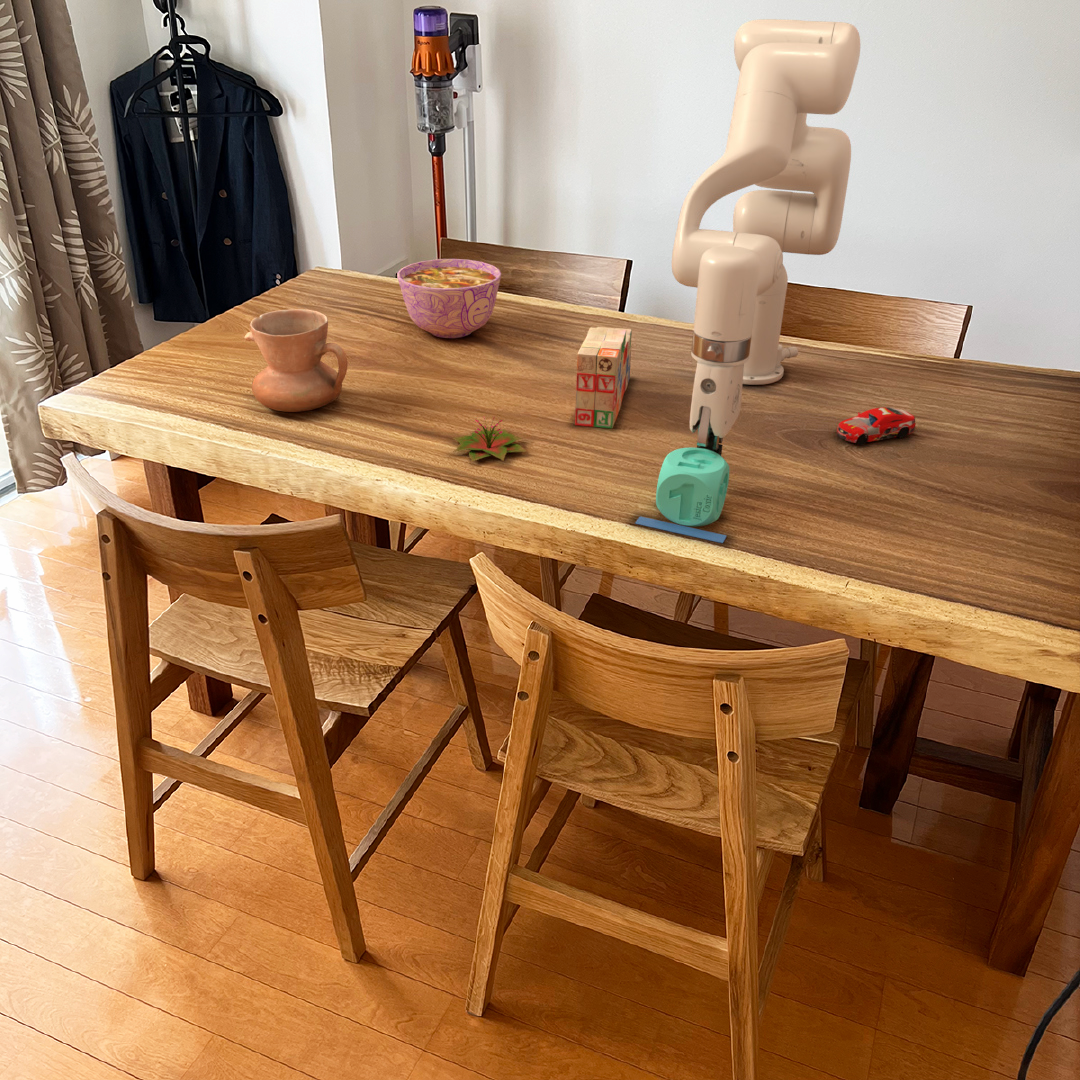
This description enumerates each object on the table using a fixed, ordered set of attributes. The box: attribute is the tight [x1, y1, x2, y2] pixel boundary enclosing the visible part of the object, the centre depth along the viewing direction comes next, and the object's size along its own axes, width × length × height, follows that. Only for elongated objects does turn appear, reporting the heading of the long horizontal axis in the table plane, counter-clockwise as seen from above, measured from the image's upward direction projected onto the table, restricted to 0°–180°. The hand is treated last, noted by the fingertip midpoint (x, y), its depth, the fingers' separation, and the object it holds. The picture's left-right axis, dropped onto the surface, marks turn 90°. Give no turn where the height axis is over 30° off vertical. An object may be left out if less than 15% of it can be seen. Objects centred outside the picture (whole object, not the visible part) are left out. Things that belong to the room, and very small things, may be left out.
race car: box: [836, 406, 916, 446], centre depth 154 cm, size 13×5×4 cm, turn 110°
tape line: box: [634, 516, 727, 544], centre depth 130 cm, size 12×2×1 cm, turn 66°
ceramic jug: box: [244, 308, 349, 413], centre depth 160 cm, size 18×14×14 cm
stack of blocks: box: [574, 326, 633, 429], centre depth 162 cm, size 21×6×12 cm, turn 168°
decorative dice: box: [655, 446, 730, 528], centre depth 132 cm, size 8×8×8 cm
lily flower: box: [451, 415, 528, 463], centre depth 149 cm, size 12×12×5 cm
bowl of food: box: [396, 258, 502, 339], centre depth 191 cm, size 20×20×12 cm
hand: (706, 470), depth 137 cm, fingers closed
